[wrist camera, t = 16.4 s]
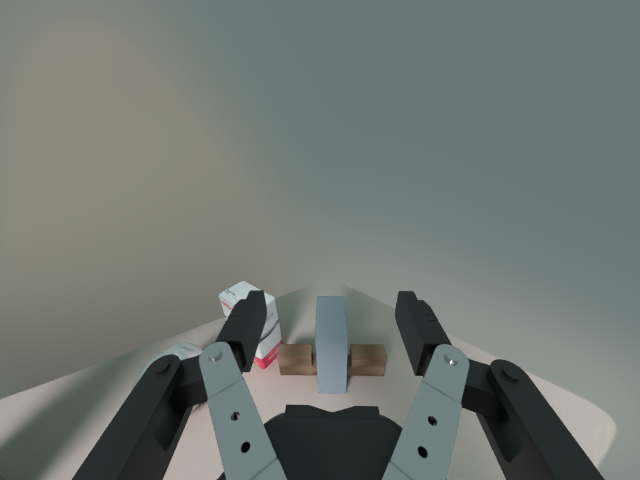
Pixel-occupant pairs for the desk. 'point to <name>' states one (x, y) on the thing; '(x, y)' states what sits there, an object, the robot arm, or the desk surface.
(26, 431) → the desk surface
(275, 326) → the ink box
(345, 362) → the notched block
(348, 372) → the notched rail
